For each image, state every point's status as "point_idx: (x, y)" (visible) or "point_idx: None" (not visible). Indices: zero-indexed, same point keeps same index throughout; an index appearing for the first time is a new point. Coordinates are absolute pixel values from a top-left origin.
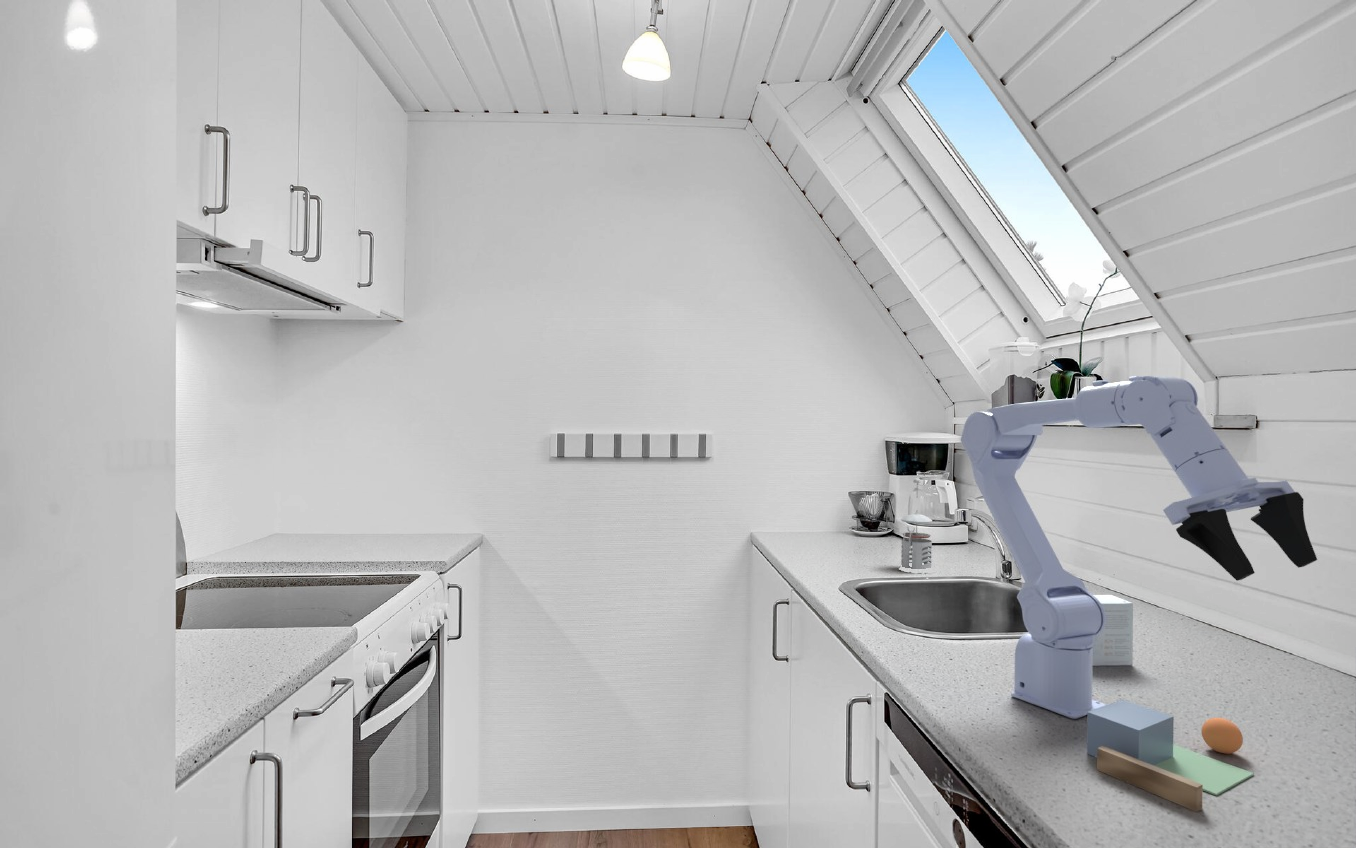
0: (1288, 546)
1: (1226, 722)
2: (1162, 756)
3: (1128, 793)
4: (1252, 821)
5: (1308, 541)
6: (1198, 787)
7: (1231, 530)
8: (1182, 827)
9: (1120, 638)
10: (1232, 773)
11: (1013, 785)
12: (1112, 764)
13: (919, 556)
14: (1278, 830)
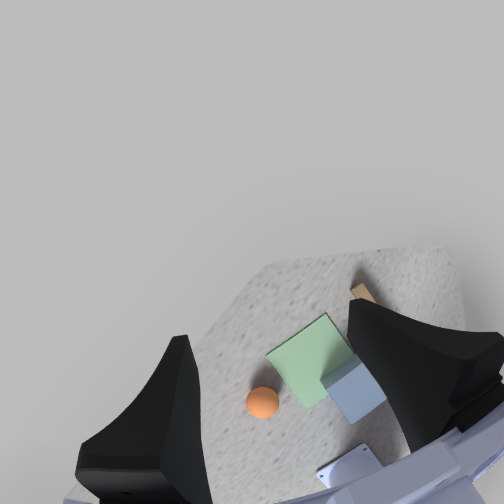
0: (194, 401)
1: (261, 402)
2: (336, 369)
3: (392, 307)
4: (321, 276)
5: (167, 359)
6: (360, 284)
7: (421, 340)
8: (378, 261)
9: None
10: (285, 353)
11: (460, 305)
12: None
13: None
14: (310, 265)
